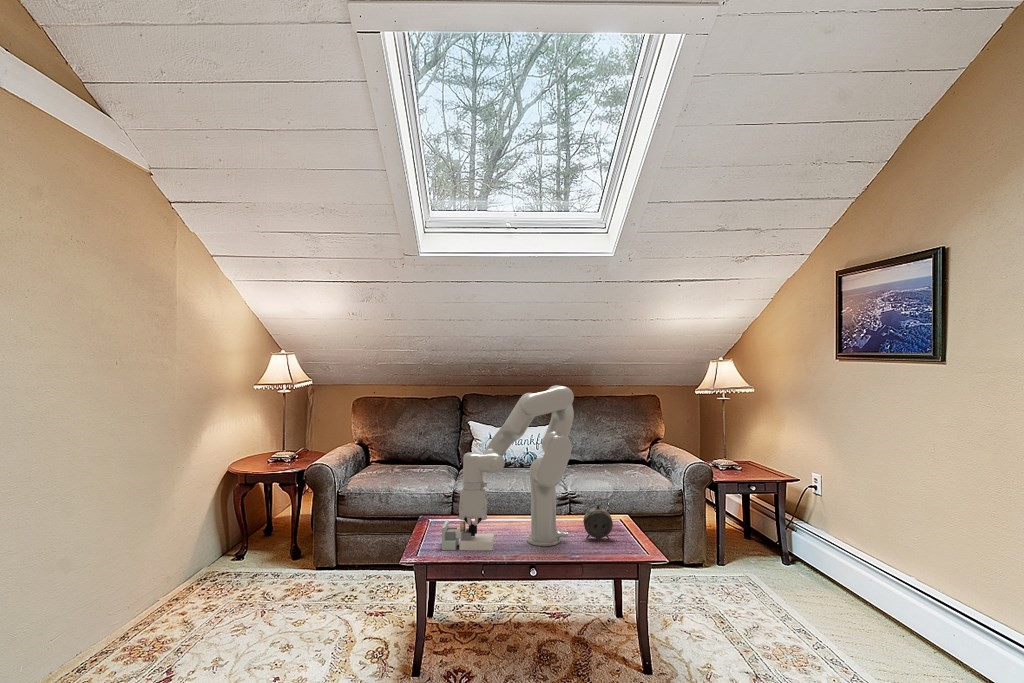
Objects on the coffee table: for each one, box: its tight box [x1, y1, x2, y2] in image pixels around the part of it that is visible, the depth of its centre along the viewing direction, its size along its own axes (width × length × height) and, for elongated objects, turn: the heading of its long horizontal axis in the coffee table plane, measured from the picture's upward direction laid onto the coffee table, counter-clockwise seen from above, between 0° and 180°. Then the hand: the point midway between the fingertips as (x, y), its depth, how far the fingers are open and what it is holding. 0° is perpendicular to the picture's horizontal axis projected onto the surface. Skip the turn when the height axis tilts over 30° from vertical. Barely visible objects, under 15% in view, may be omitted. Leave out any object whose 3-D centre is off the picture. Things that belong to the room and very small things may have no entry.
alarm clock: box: [583, 497, 614, 543], centre depth 216 cm, size 11×5×16 cm, turn 87°
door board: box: [458, 527, 495, 551], centre depth 209 cm, size 12×10×6 cm
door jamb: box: [441, 520, 460, 551], centre depth 210 cm, size 5×10×8 cm, turn 178°
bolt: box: [448, 521, 467, 540], centre depth 210 cm, size 7×4×6 cm, turn 88°
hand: (472, 535), depth 209 cm, fingers closed
